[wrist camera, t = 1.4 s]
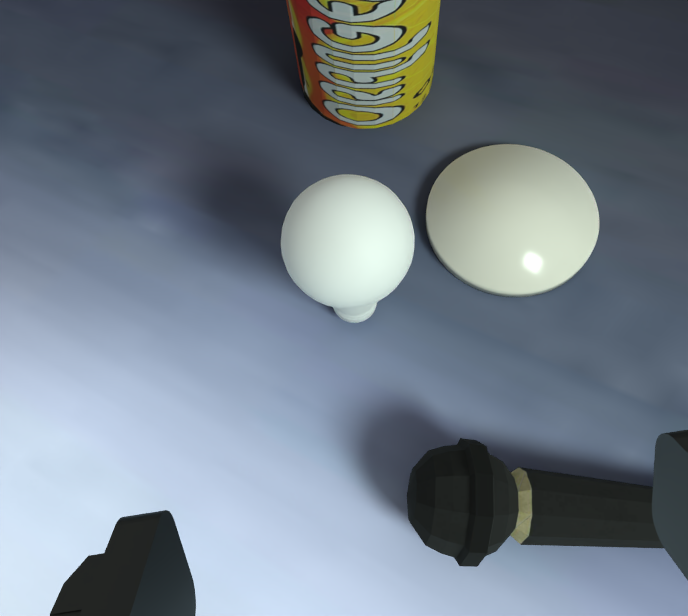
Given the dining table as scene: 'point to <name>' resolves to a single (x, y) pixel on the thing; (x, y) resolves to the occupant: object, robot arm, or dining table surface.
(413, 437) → the dining table surface
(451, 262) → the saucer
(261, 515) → the dining table surface
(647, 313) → the dining table surface
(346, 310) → the lightbulb
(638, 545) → the microphone
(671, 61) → the dining table surface
